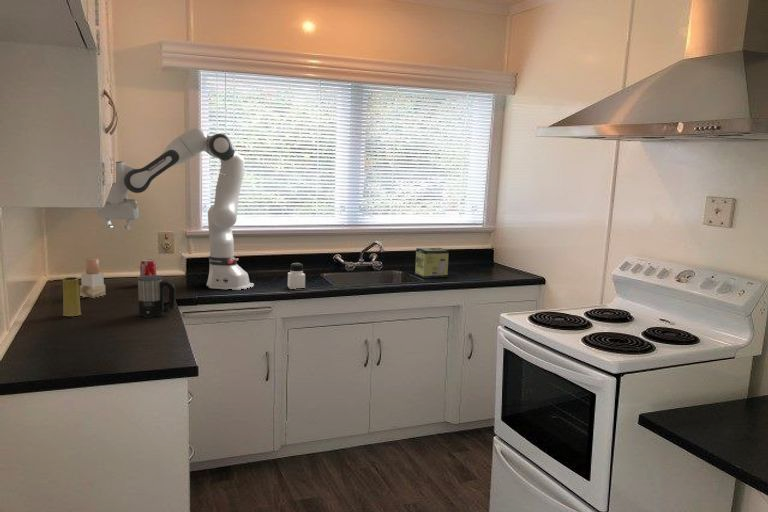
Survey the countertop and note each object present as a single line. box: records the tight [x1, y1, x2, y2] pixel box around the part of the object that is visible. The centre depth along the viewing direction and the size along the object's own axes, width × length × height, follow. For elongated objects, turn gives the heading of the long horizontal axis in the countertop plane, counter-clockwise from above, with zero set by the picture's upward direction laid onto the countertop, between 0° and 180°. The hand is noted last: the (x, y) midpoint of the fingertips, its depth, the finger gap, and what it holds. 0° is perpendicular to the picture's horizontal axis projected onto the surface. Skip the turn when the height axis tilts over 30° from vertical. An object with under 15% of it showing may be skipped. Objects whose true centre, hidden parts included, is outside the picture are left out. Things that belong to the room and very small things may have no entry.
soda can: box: [139, 258, 157, 277], centre depth 279 cm, size 7×7×12 cm
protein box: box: [414, 247, 450, 278], centre depth 330 cm, size 10×16×16 cm
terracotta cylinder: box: [85, 258, 100, 274], centre depth 253 cm, size 5×5×6 cm
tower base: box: [79, 284, 107, 299], centre depth 254 cm, size 7×7×5 cm
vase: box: [62, 276, 82, 317], centre depth 221 cm, size 6×6×14 cm
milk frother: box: [136, 274, 177, 318], centre depth 231 cm, size 14×16×15 cm
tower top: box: [80, 272, 105, 287], centre depth 253 cm, size 6×6×5 cm
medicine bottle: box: [287, 262, 306, 290], centre depth 286 cm, size 7×7×12 cm
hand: (119, 228), depth 267 cm, fingers open, 8 cm apart
